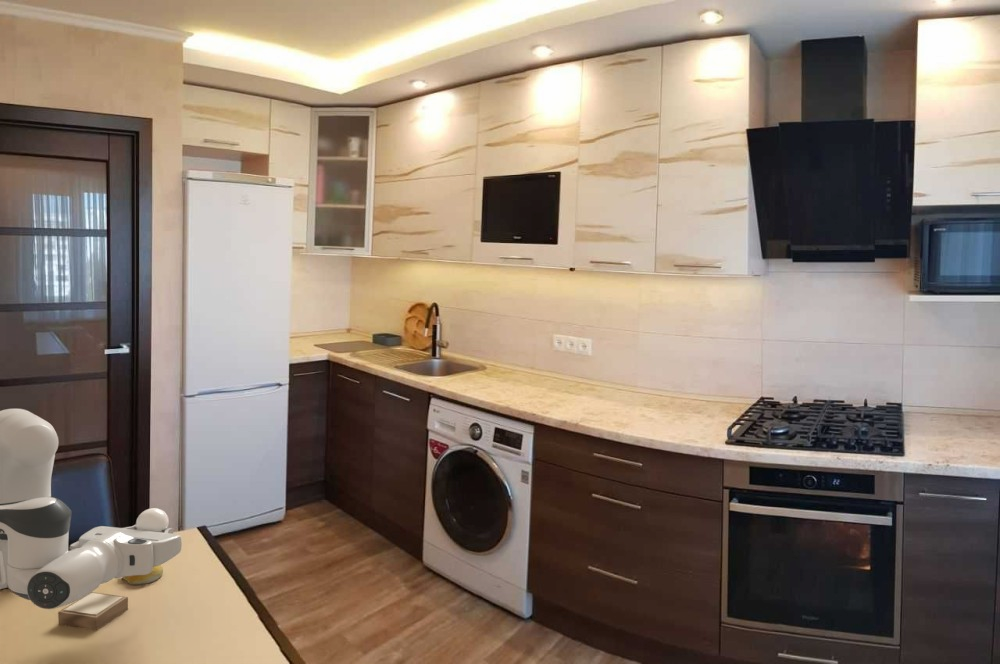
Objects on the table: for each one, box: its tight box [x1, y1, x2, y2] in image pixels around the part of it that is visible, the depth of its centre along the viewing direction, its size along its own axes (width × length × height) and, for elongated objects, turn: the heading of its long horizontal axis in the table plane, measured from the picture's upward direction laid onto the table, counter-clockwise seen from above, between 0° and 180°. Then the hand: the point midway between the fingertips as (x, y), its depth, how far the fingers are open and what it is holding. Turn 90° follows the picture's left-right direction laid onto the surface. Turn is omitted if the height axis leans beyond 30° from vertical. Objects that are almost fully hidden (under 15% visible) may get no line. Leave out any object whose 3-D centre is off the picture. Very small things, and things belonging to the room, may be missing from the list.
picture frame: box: [57, 591, 129, 631], centre depth 146 cm, size 9×9×3 cm
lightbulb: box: [135, 507, 170, 533], centre depth 150 cm, size 6×6×11 cm
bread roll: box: [122, 564, 164, 586], centre depth 165 cm, size 8×9×4 cm
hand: (155, 529), depth 151 cm, fingers closed on lightbulb, 6 cm apart
